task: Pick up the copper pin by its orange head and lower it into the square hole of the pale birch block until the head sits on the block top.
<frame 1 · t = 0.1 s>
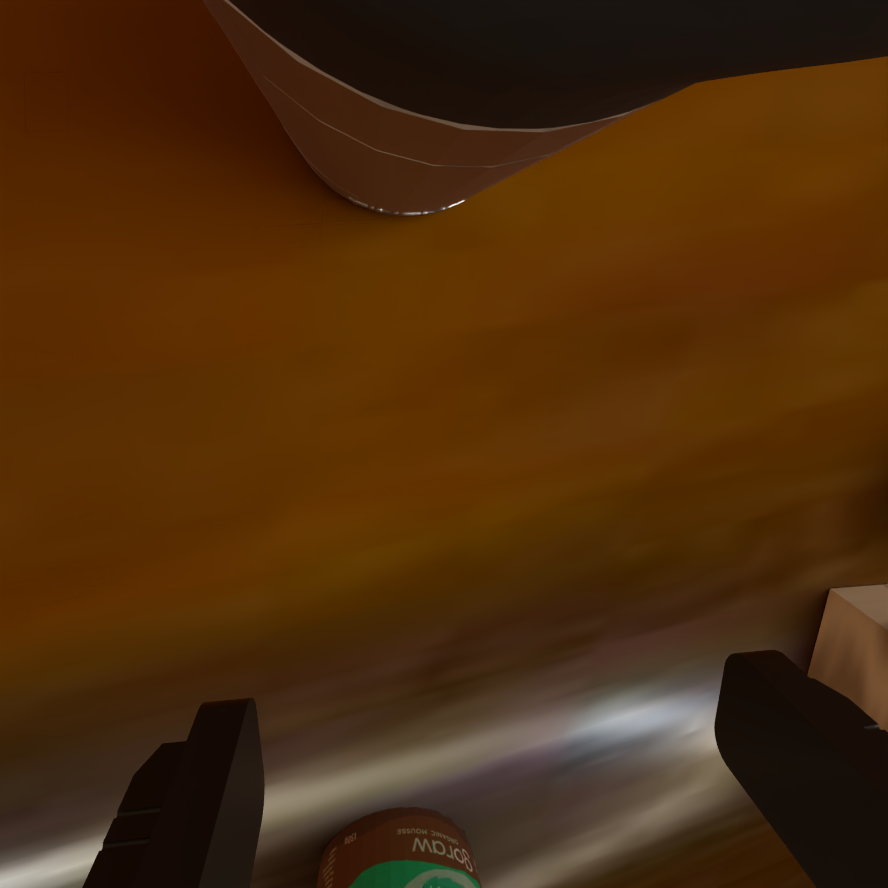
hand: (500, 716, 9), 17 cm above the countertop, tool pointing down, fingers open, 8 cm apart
food container: (413, 828, 34), on the countertop
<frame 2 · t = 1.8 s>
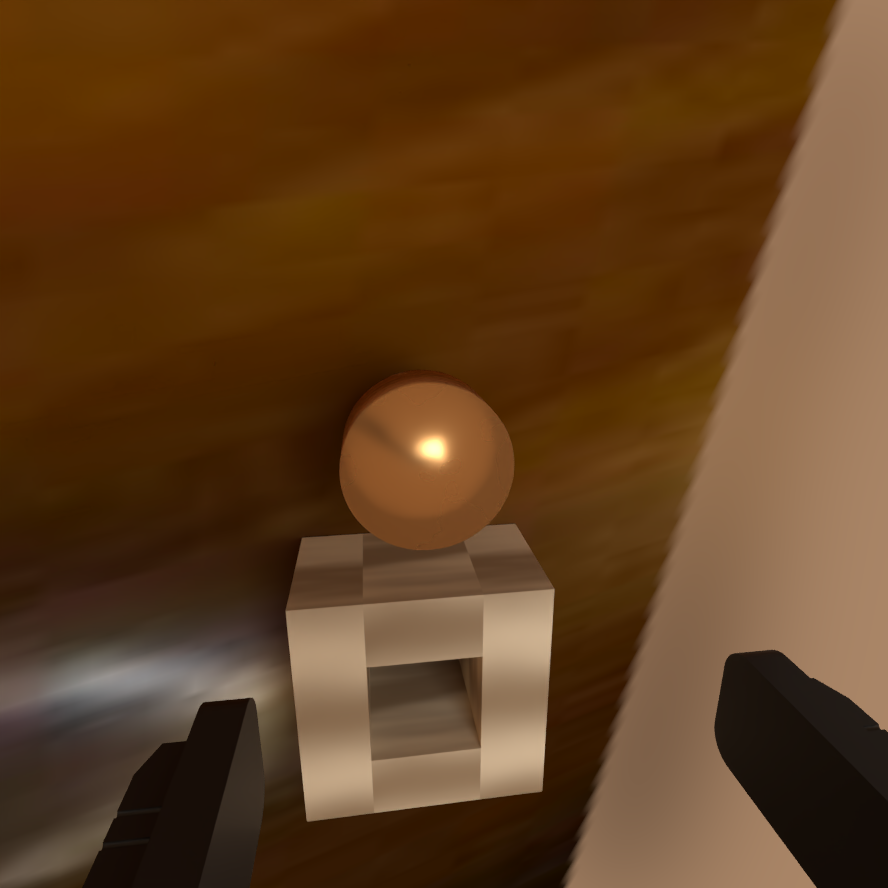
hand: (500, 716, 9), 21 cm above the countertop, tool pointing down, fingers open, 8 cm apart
copper pin: (408, 409, 30), on the countertop
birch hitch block: (413, 622, 33), on the countertop
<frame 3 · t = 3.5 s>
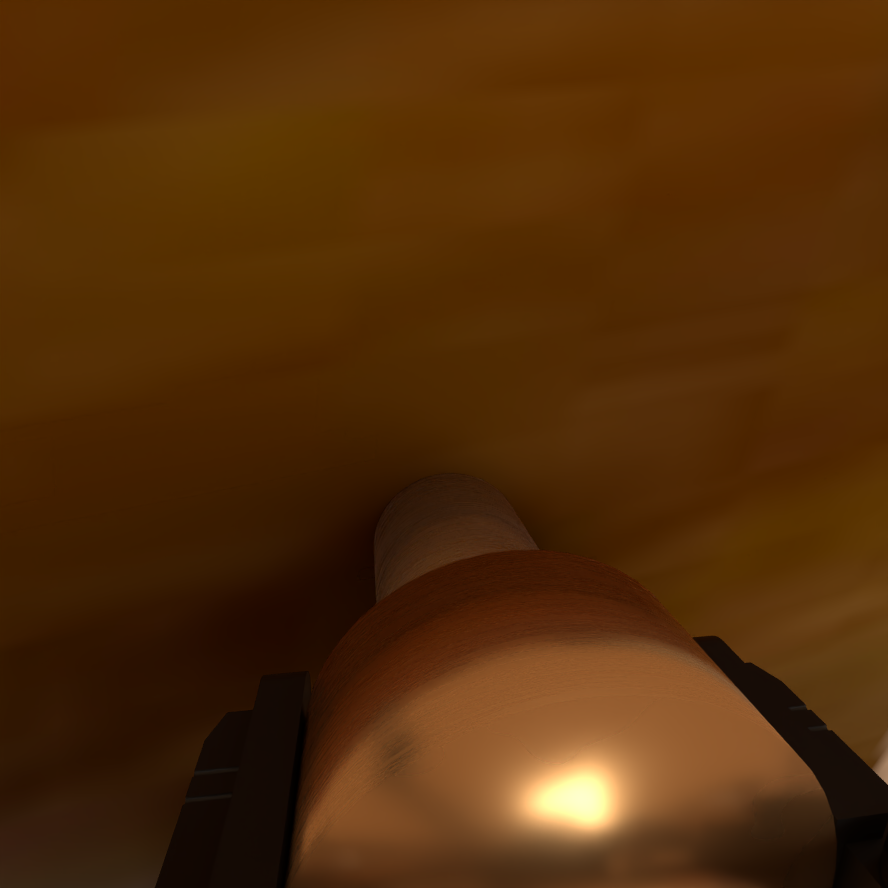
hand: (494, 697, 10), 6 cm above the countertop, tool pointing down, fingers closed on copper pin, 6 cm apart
copper pin: (447, 542, 15), on the countertop, touching gripper
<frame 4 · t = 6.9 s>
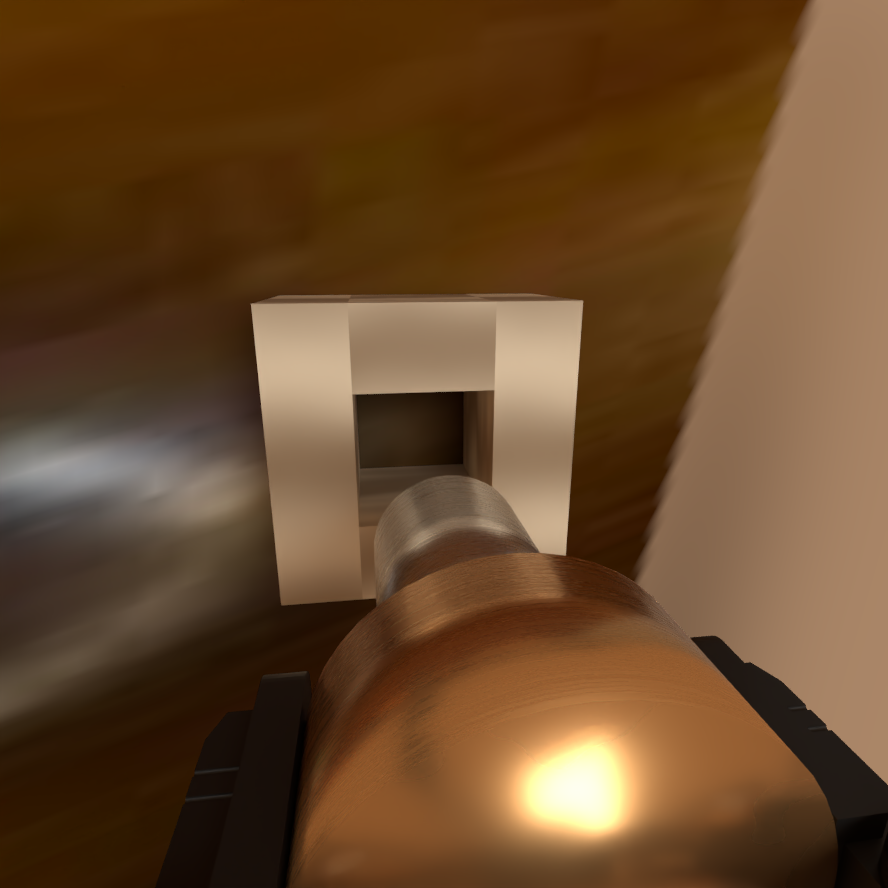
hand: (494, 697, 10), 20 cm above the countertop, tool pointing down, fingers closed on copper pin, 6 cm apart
copper pin: (447, 544, 15), point 14 cm above the countertop, touching gripper
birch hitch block: (411, 416, 29), on the countertop
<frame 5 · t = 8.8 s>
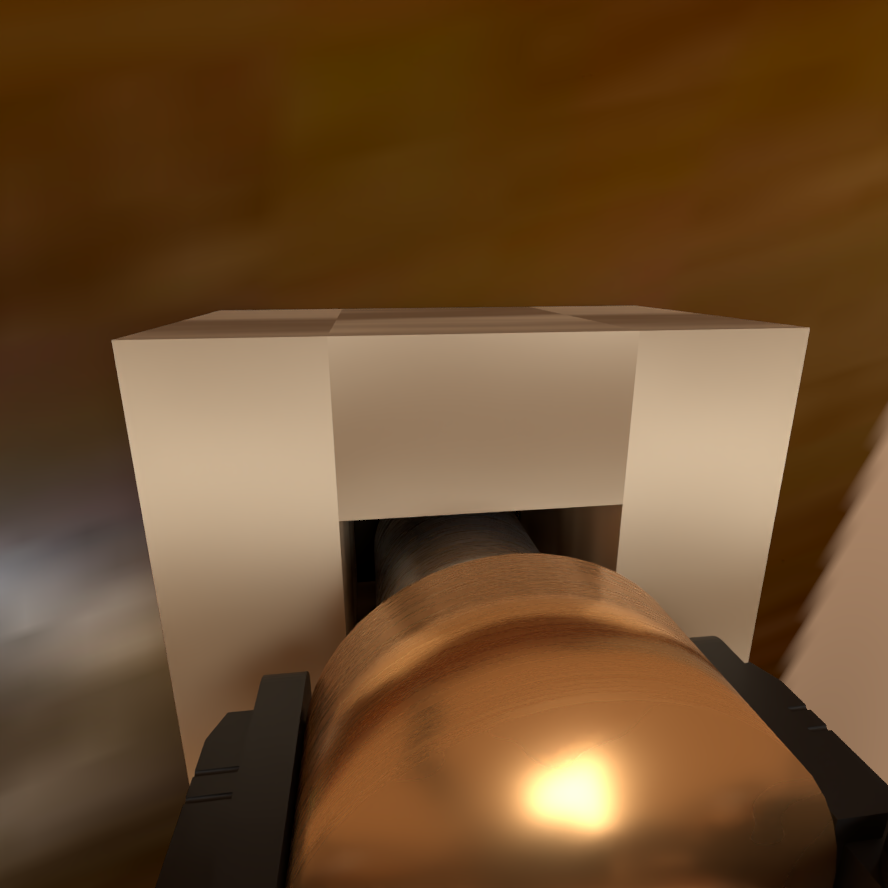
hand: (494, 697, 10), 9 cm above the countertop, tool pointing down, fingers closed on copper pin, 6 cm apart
copper pin: (447, 544, 15), point 3 cm above the countertop, touching gripper
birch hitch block: (438, 501, 18), on the countertop
when the fingers open (8 cm above the countertop, at t = 10.3 s): copper pin drops 1 cm, resting on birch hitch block.
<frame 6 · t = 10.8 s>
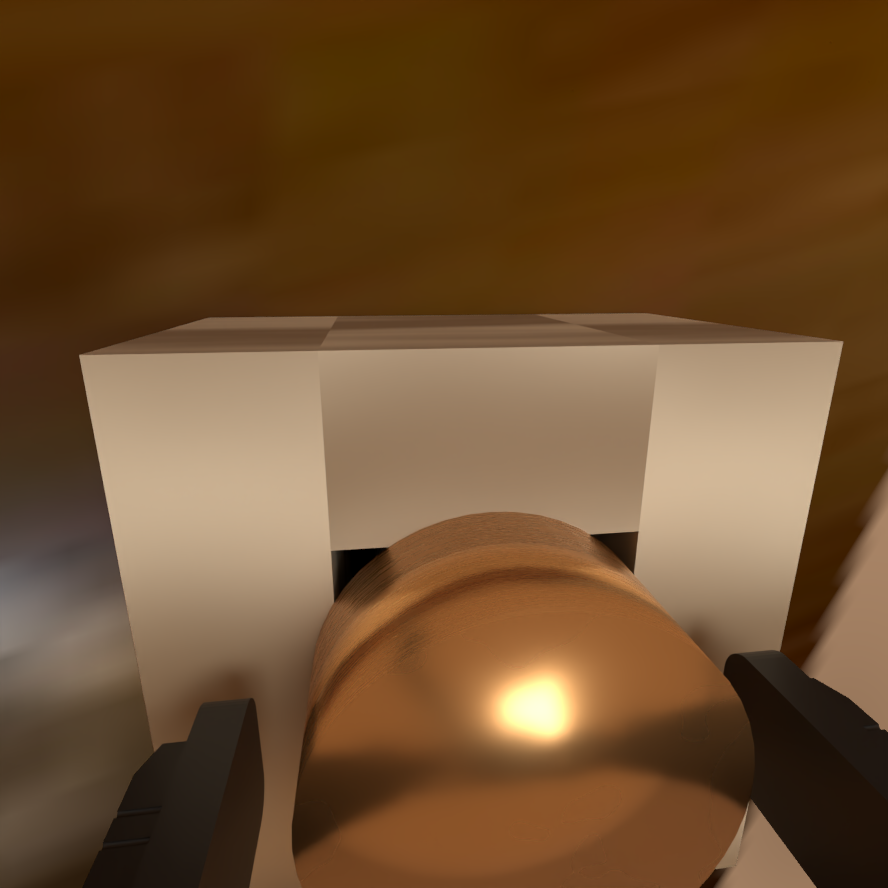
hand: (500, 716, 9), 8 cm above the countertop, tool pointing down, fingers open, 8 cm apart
copper pin: (441, 521, 17), resting on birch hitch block
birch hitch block: (438, 517, 17), on the countertop
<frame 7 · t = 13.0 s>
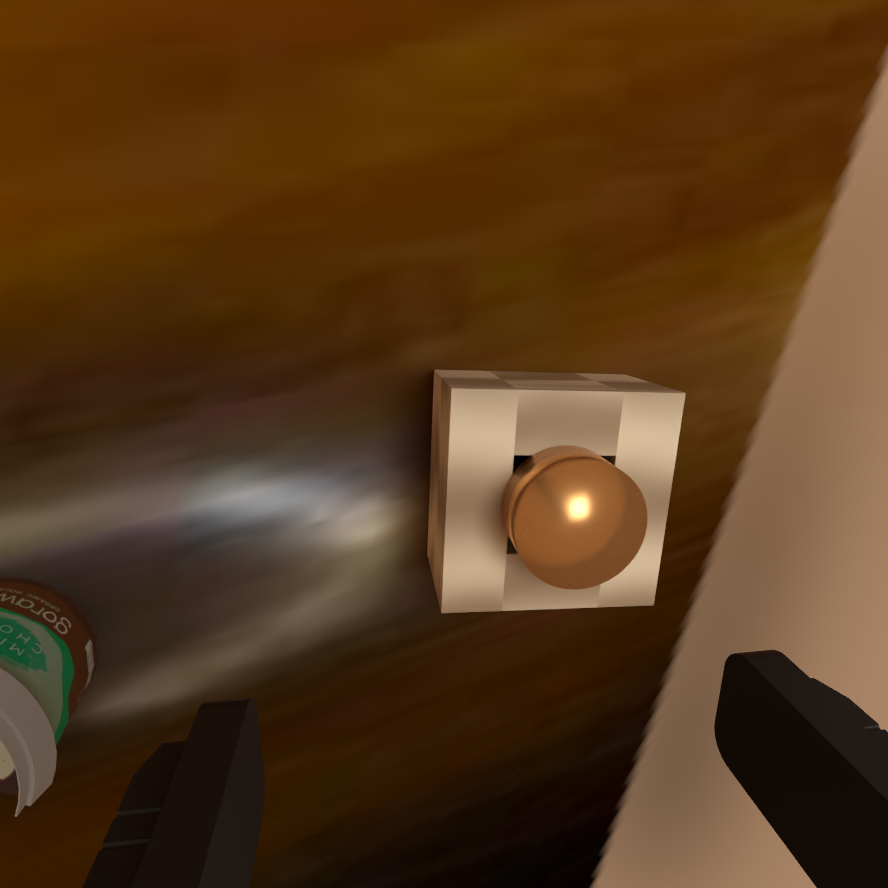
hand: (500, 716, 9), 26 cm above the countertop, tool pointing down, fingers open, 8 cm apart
copper pin: (526, 467, 35), resting on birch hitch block
food container: (31, 606, 34), on the countertop
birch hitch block: (524, 466, 36), on the countertop
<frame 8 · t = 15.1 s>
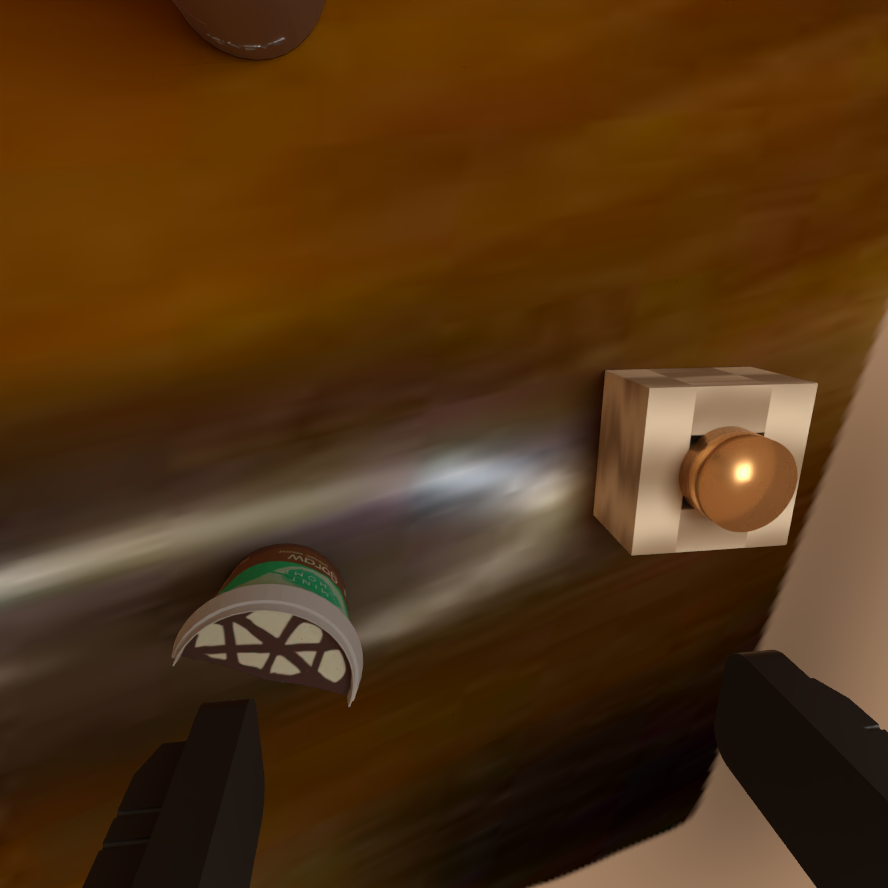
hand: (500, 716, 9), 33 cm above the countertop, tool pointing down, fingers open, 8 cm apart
copper pin: (672, 443, 45), resting on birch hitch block
food container: (298, 565, 44), on the countertop
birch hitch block: (669, 442, 45), on the countertop
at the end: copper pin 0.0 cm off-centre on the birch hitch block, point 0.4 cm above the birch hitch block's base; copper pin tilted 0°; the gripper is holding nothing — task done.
